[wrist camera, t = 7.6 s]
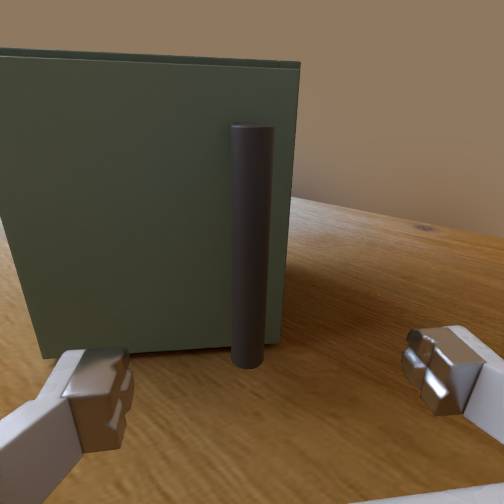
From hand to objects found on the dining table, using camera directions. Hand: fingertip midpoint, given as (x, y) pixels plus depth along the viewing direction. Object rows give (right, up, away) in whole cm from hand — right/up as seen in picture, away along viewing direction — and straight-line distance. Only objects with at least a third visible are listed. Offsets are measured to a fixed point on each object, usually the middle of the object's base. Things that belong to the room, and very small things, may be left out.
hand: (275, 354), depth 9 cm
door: (-6, -5, +11) cm, 13 cm away
